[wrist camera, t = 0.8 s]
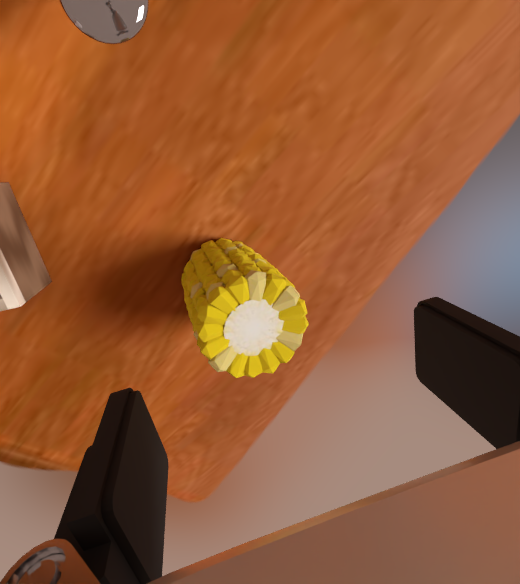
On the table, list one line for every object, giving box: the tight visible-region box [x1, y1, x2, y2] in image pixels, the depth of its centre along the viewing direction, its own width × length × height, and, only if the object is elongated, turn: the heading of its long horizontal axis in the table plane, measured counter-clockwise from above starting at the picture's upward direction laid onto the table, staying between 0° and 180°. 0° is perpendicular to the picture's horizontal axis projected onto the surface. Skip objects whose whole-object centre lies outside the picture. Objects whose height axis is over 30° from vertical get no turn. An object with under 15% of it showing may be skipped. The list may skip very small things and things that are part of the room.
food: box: [181, 238, 309, 378], centre depth 32 cm, size 15×12×10 cm
